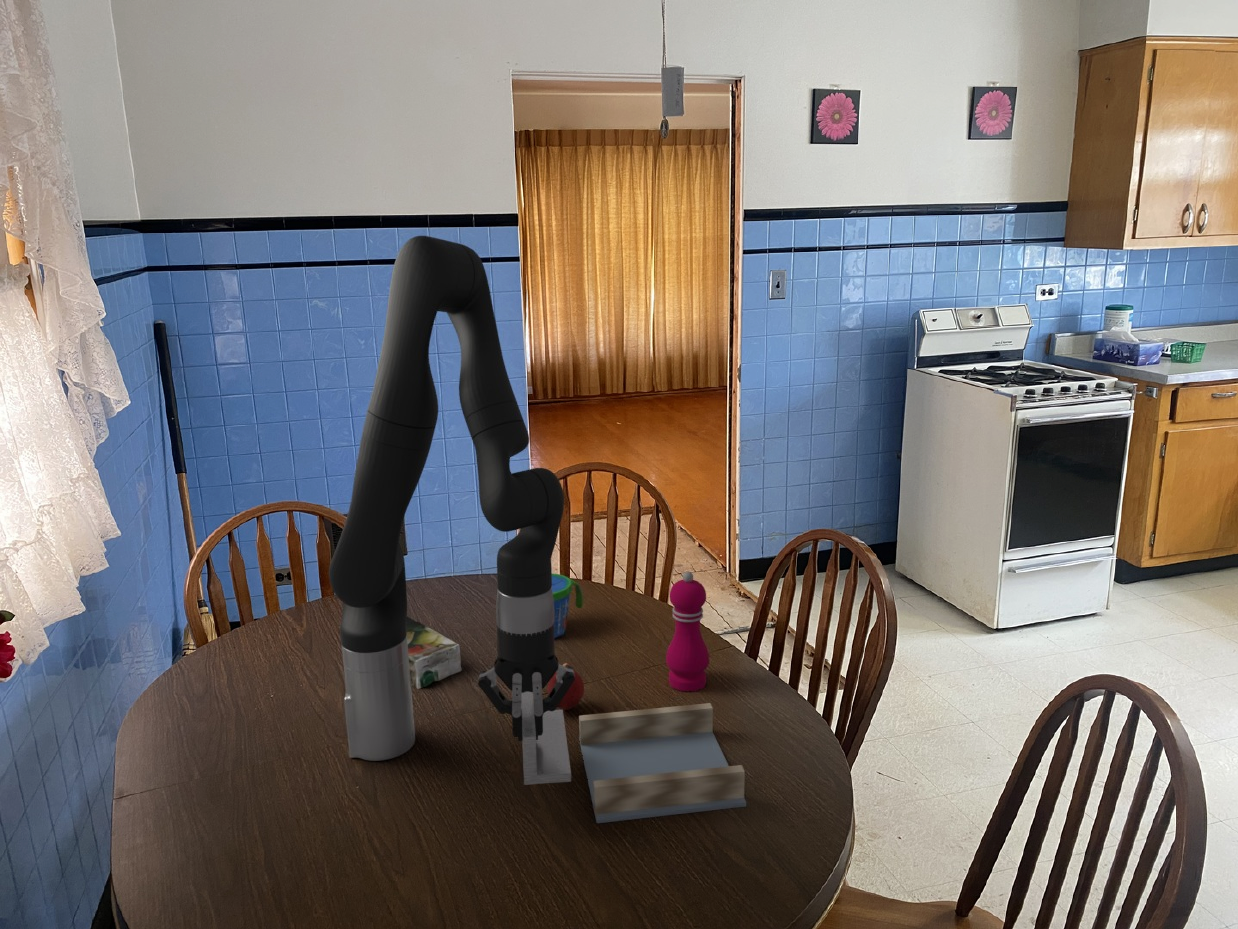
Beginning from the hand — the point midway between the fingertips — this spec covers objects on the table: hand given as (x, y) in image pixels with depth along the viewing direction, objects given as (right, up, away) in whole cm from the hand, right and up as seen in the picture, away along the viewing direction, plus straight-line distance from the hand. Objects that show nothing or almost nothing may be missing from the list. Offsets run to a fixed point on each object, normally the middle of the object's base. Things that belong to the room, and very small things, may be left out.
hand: (528, 737), depth 122 cm
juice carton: (-25, +1, +38) cm, 46 cm away
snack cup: (-2, +5, +49) cm, 50 cm away
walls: (+18, -6, +5) cm, 20 cm away
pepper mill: (+24, 0, +30) cm, 38 cm away
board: (+18, -6, +5) cm, 20 cm away
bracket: (+2, -2, +1) cm, 3 cm away
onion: (+4, -2, +22) cm, 22 cm away
